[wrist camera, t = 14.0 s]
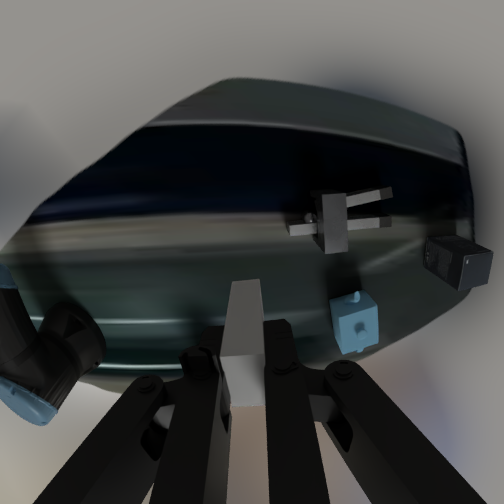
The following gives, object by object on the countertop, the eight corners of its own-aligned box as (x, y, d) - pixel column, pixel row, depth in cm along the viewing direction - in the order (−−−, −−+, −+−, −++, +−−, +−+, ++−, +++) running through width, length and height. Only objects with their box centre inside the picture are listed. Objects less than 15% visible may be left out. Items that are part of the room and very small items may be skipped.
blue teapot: (324, 278, 41) (337, 300, 34) (360, 268, 41) (379, 287, 34) (333, 339, 45) (345, 365, 37) (365, 329, 44) (381, 353, 37)
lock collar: (313, 239, 39) (325, 253, 33) (310, 190, 37) (322, 194, 31) (333, 237, 39) (347, 251, 32) (330, 188, 37) (346, 193, 30)
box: (423, 267, 41) (457, 292, 31) (426, 236, 39) (464, 255, 29) (453, 263, 41) (488, 285, 30) (456, 234, 39) (494, 251, 29)
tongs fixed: (287, 231, 39) (290, 236, 36) (285, 212, 38) (288, 216, 35) (381, 222, 38) (391, 226, 35) (381, 204, 38) (391, 207, 35)
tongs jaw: (316, 210, 38) (321, 213, 35) (314, 200, 37) (319, 202, 35) (383, 194, 37) (392, 197, 34) (381, 185, 37) (391, 186, 34)
